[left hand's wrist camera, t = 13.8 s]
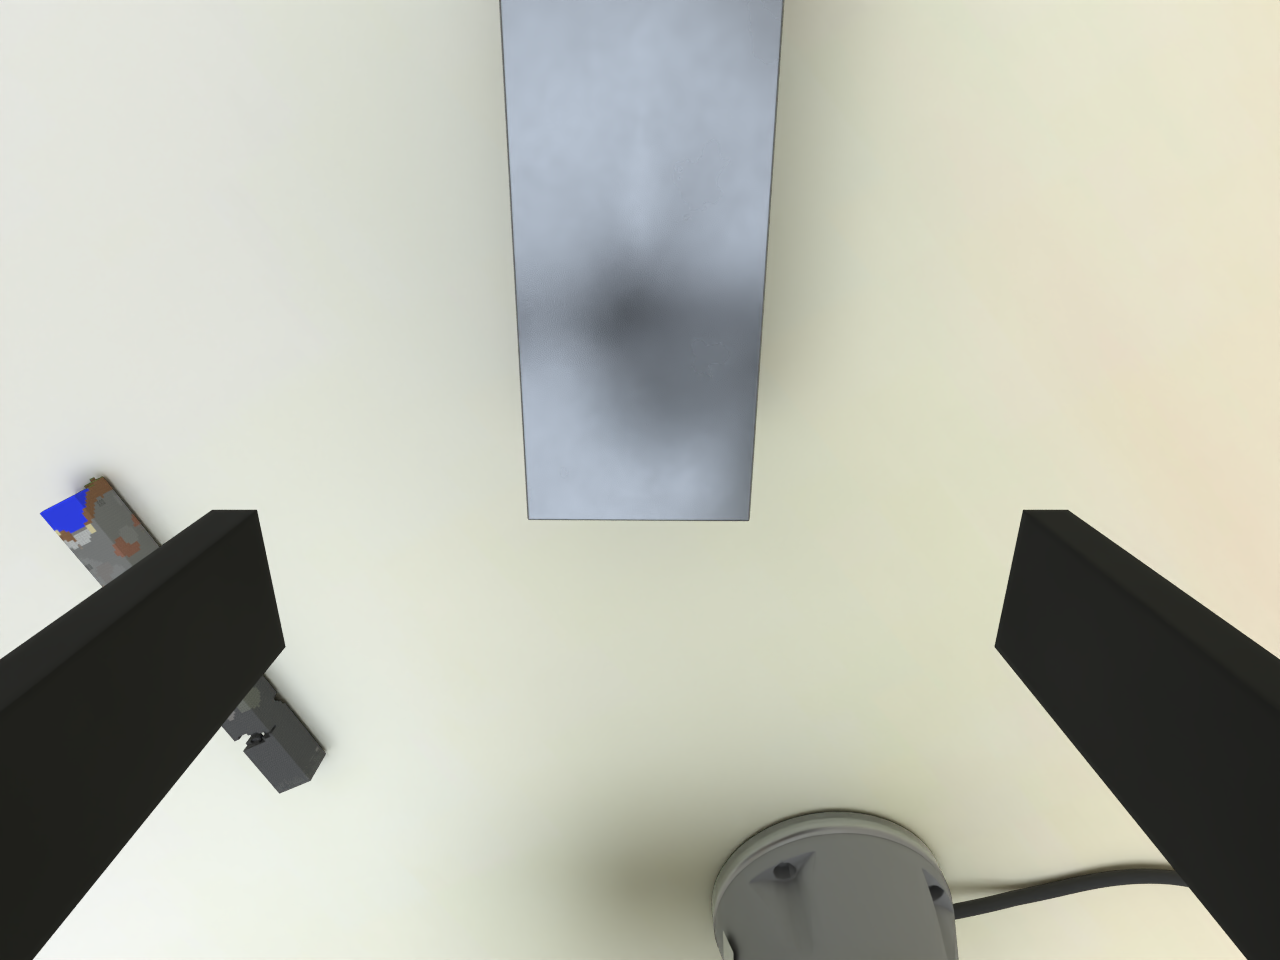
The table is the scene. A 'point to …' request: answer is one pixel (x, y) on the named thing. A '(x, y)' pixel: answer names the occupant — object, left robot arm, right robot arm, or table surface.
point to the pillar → (118, 543)
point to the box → (640, 249)
